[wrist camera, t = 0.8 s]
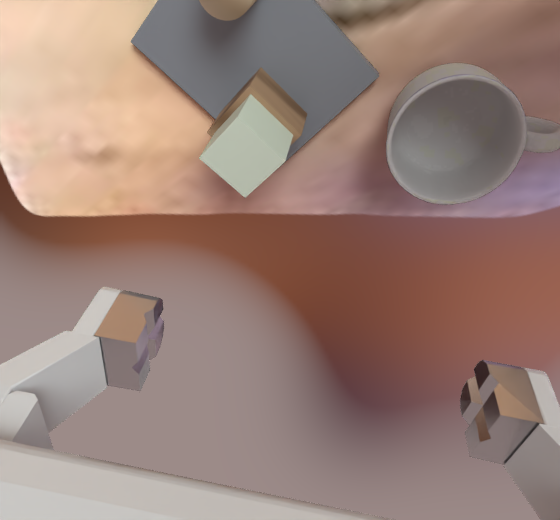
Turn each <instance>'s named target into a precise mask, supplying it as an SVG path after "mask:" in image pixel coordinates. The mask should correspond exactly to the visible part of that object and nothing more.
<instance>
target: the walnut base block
mask: <svg viewBox="0 0 560 520" xmlns="http://www.w3.org/2000/svg"><path fill="white" fill-rule="evenodd" d="M250 94H251V95H252V96H253V97H254V98H255V99H256V100H257V101H259V102H260V103H261V104H262V105H263V106H264V107H265V108H266V109H267V110H268V111H269V112H270V113H271V114H272V115H273V116H274V117H275V118H276V119H277V120H278V121H279V122H280V123H281V124H282V125H283V126H284V127H285V128H286V129H287V130H288V131H289V132H291V133H292V134H293V138H292V141H291V144H290V146H291V145H292V144H293V143H294V142H295V141H296V140H297V139H298V138H299V137H300V136H301V135H302V131H303V128H304V124H305V120H306V117H307V113H306V112H305V111H304V110H303V109H302V108H301V107H300V106H299V105H298V104H297V103H296V102H295V101H294V100H293V99H292V98H291V97H290V96H289V95H288V94H287V93H286V92H285V91H284V90H283V89H282V88H281V87H280V86H279V85H278V84H277V83H276V82H275V81H274V80H273V79H272V78H271V77H270V76H269V75H268V74H267V73H266V72H265V71H264V70H263V69H262V68H261V67H260V69H259V70H258V71H257V72H256V73H255V74H254V75H253V76H252V77H251V79H250V80H249V81H248V82H247V83H246V84H245V85H244V86H243V87H242V89H241V90H240V91H239V92H238V93H237V94H236V95H235V96H234V97H233V99H232V100H231V101H230V102H229V103H228V104H227V105H226V106H225V107H224V109H223V110H222V111H221V112H220V114H219V115H218V117H217V118H216V120H215V121H214V123H213V124H212V126H211V127H210V129H209V130H208V132H207V133H208V134H209V135H210V136H211V137H212V136H213V135H214V133H215V132H216V131H217V130H218V129H219V128H220V127H221V125H222V124H223V123H224V122H225V121H226V120H227V119H228V118H229V117H230V116H231V115H232V114H233V112H234V111H235V110H236V109H237V108H238V107H239V106H240V105H241V104H242V103H243V102H244V101H245V99H246V98H247V97H248V96H249V95H250Z"/></svg>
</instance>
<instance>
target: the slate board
mask: <svg viewBox="0 0 560 520" xmlns="http://www.w3.org/2000/svg"><path fill="white" fill-rule="evenodd" d="M131 43H132V44H134V45H135V46H136V47H137V48H138V49H139V50H140V51H141V52H142V53H143V54H144V55H146V56H147V57H148V58H149V59H150V60H151V61H152V62H153V63H154V64H155V65H157V66H158V67H159V68H160V69H161V70H162V71H163V72H164V73H165V74H166V75H167V76H169V77H170V78H171V79H172V80H173V81H174V82H175V83H176V84H177V85H178V86H180V87H181V88H182V89H183V90H184V91H185V92H186V93H187V94H188V95H189V96H191V97H192V98H193V99H194V100H195V101H196V102H197V103H198V104H199V105H200V106H201V107H203V108H204V109H205V110H206V111H207V112H208V113H209V114H210V115H211V116H212V117H214V118H215V119H216V118H217V117H218V115H219V114H220V112H221V111H222V110H223V109H224V107H225V106H226V105H227V104H228V103H229V102H230V101H231V100H232V99H233V97H234V96H235V95H236V94H237V93H238V92H239V91H240V90H241V89H242V87H243V86H244V85H245V84H246V83H247V82H248V81H249V80H250V79H251V77H252V76H253V75H254V74H255V73H256V72H257V71H258V70H259V69H260V67H261V68H262V69H263V70H264V71H265V72H266V73H267V74H268V75H269V76H270V77H271V78H272V79H273V80H274V81H275V82H276V83H277V84H278V85H279V86H280V87H281V88H282V89H283V90H284V91H285V92H286V93H287V94H288V95H289V96H290V97H291V98H292V99H293V100H294V101H295V102H296V103H297V104H298V105H299V106H300V107H301V108H302V109H303V110H304V111H305V112H306V113H307V117H306V120H305V124H304V128H303V131H302V135H301V136H300V137H299V138H298V139H297V140H296V141H295V142H294V143H293V144H292V145H291V146H290V148H289V151H288V154H287V157H286V161H287V160H288V159H289V158H290V157H291V156H292V155H293V154H294V153H295V152H296V151H298V150H299V149H300V148H301V147H302V146H303V145H304V144H305V143H306V142H307V141H309V140H310V139H311V138H312V137H313V136H314V135H315V134H316V133H317V132H318V131H320V130H321V129H322V128H323V127H324V126H325V125H326V124H327V123H328V122H329V121H331V120H332V119H333V118H334V117H335V116H336V115H337V114H338V113H339V112H340V111H342V110H343V109H344V108H345V107H346V106H347V105H348V104H349V103H350V102H351V101H352V100H354V99H355V98H356V97H357V96H358V95H359V94H360V93H361V92H362V91H363V90H365V89H366V88H367V87H368V86H369V85H370V84H371V83H372V82H373V81H374V80H376V79H377V78H378V77H379V73H378V71H377V70H376V69H375V68H374V67H373V66H372V65H371V64H370V62H369V61H368V60H367V59H366V58H365V57H364V56H363V54H362V53H361V52H360V51H359V50H358V49H357V48H356V47H355V45H354V44H353V43H352V42H351V41H350V40H349V39H348V38H347V36H346V35H345V34H344V33H343V32H342V31H341V30H340V29H339V27H338V26H337V25H336V24H335V23H334V22H333V21H332V20H331V18H330V17H329V16H328V15H327V14H326V13H325V12H324V10H323V9H322V8H321V7H320V6H319V5H318V4H317V3H316V1H315V0H257V1H256V2H255V3H254V4H253V5H252V6H251V7H250V8H249V9H248V10H247V11H246V12H245V13H244V14H243V15H242V16H241V17H239V18H237V19H235V20H230V21H224V20H220V19H217V18H215V17H213V16H211V15H210V14H209V13H208V12H207V11H206V10H205V9H204V8H203V6H202V5H201V3H200V1H199V0H158V1H157V3H156V4H155V6H154V7H153V9H152V10H151V12H150V13H149V15H148V16H147V18H146V19H145V21H144V22H143V24H142V25H141V27H140V28H139V30H138V31H137V33H136V34H135V36H134V37H133V39H132V40H131ZM277 169H278V168H277ZM277 169H276V170H277ZM276 170H275V171H276Z"/></svg>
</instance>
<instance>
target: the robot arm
mask: <svg viewBox="0 0 560 520" xmlns="http://www.w3.org/2000/svg"><path fill="white" fill-rule="evenodd" d="M162 310H163V300H162V299H161V298H157V297H153V296H148V295H143V294H139V293H134V292H130V291H125V290H119V289H114V288H110V287H103V288H101V289H100V290H99V291H98V293H97V294H96V295H95V297H94V298H93V300H92V301H91V303H90V304H89V306H88V307H87V309H86V311H85V312H84V313H83V315H82V316H81V318H80V320H79V321H78V322H77V324H76V325H75V327H74V328H73V330H72V331H71V332H70V331H64V332H62V333H61V334H58V335H56V336H54V337H53V338H51V339H49V340H47V341H45V342H43V343H41V344H39V345H37V346H36V347H33V348H32V349H30V350H28V351H26V352H24V353H22V354H20V355H18V356H16V357H14V358H13V359H11V360H9V361H7V362H5V363H3V364H1V365H0V520H394V519H389V518H384V517H378V516H374V515H369V514H364V513H359V512H355V511H350V510H345V509H340V508H335V507H330V506H325V505H320V504H315V503H310V502H305V501H300V500H295V499H291V498H285V497H281V496H276V495H271V494H266V493H261V492H256V491H251V490H246V489H241V488H236V487H231V486H227V485H221V484H217V483H212V482H207V481H202V480H197V479H192V478H187V477H183V476H178V475H173V474H167V473H163V472H158V471H153V470H148V469H143V468H139V467H133V466H129V465H124V464H119V463H114V462H109V461H104V460H99V459H94V458H90V457H85V456H80V455H75V454H70V453H65V452H60V451H55V450H54V449H53V446H52V443H51V440H50V437H49V432H50V431H52V430H53V429H54V428H56V427H57V426H58V425H59V424H61V423H62V422H63V421H65V420H66V419H67V418H68V417H70V416H71V415H72V414H74V413H75V412H76V411H77V410H79V409H80V408H81V407H83V406H84V405H85V404H86V403H88V402H89V401H90V400H92V399H93V398H94V397H96V396H97V395H98V394H99V393H101V392H102V391H103V390H104V389H106V388H107V385H108V386H114V387H119V388H125V389H131V390H137V391H141V388H142V386H143V384H144V382H145V380H146V378H147V375H148V373H149V371H150V362H149V360H150V359H152V358H154V357H156V355H157V353H158V351H159V348H160V345H161V341H162V337H163V331H164V321H163V320H162V319H161V317H160V315H161V313H162ZM474 371H475V377H473V378H471V379H469V380H467V381H466V384H465V385H464V387H463V389H462V394H461V398H460V404H461V405H460V408H461V413H462V417H463V418H464V419H465V421H466V422H467V423H468V424H469V427H468V428H467V430H466V431H465V435H466V441H467V445H468V451H469V456H470V457H473V458H477V459H481V460H486V461H490V462H495V463H499V464H504V468H505V469H506V470H507V472H508V473H509V475H510V476H511V478H512V479H513V481H514V482H515V484H516V485H517V486H518V488H519V489H520V491H521V492H522V494H523V495H524V496H525V498H526V499H527V501H528V502H529V504H530V505H531V506H532V508H533V509H534V511H535V512H536V514H537V515H538V517H539V518H540V519H541V520H560V406H559V404H558V401H557V399H556V396H555V393H554V391H553V388H552V386H551V383H550V381H549V378H548V376H547V374H546V373H545V372H544V371H539V370H534V369H528V368H521V367H517V366H512V365H507V364H501V363H495V362H490V361H485V360H482V361H480V362H479V363H478V364H477V365H476V367H475V368H474Z"/></svg>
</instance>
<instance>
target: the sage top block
mask: <svg viewBox="0 0 560 520" xmlns="http://www.w3.org/2000/svg"><path fill="white" fill-rule="evenodd" d="M292 138H293V134H292V133H291V132H289V131H288V130H287V129H286V128H285V127H284V126H283V125H282V124H281V123H280V122H279V121H278V120H277V119H276V118H275V117H274V116H273V115H272V114H271V113H270V112H269V111H268V110H267V109H266V108H265V107H264V106H263V105H262V104H261V103H260V102H259V101H257V100H256V99H255V98H254V97H253V96H252V95H251V94H250V95H249V96H248V97H247V98H246V99H245V101H244V102H243V103H242V104H241V105H240V106H239V107H238V108H237V109H236V110H235V111H234V112H233V114H232V115H231V116H230V117H229V118H228V119H227V120H226V121H225V122H224V123H223V124H222V125H221V127H220V128H219V129H218V130H217V131H216V132H215V133H214V135H213V136H212V138H211V140H210V141H209V143H208V144H207V146H206V148H205V149H204V151H203V152H202V154H201V156H200V157H199V159H201V160H202V161H203V162H204V163H205V164H206V165H207V166H209V167H210V168H211V169H212V170H213V171H214V172H216V173H217V174H218V175H219V176H220V177H221V178H223V179H224V180H225V181H226V182H227V183H228V184H229V185H231V186H232V187H233V188H234V189H235V190H236V191H238V192H239V193H240V194H241V195H242V196H243V197H245V198H246V197H247V196H248V195H249V194H250V193H251V192H252V191H253V190H254V189H255V188H257V187H258V186H259V185H260V184H261V183H262V182H263V181H264V180H265V179H266V178H268V177H269V176H270V175H271V174H272V173H273V172H274V171H275V170H276V169H277V168H279V167H280V166H281V165H282V164H283V163H284V162H285V161H286V157H287V154H288V151H289V148H290V144H291V141H292Z"/></svg>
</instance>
